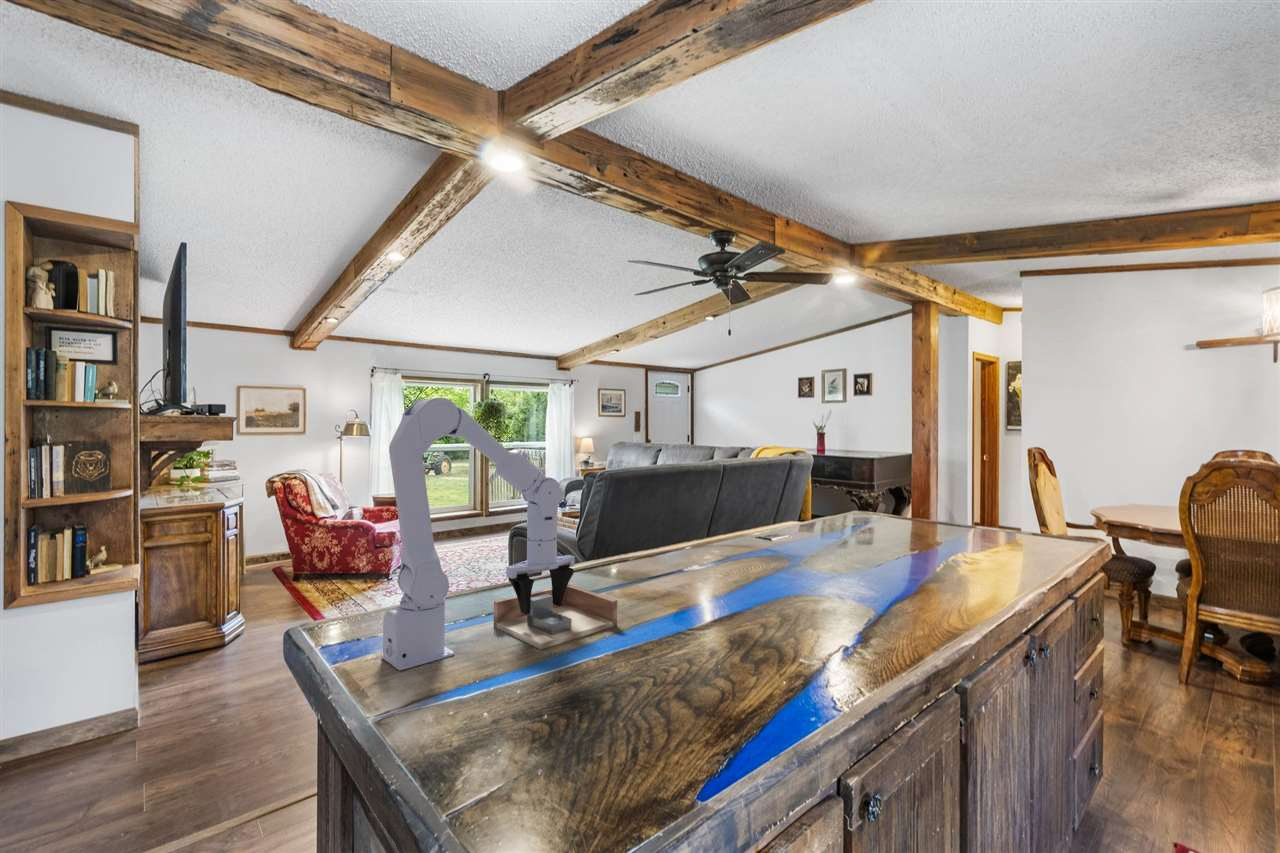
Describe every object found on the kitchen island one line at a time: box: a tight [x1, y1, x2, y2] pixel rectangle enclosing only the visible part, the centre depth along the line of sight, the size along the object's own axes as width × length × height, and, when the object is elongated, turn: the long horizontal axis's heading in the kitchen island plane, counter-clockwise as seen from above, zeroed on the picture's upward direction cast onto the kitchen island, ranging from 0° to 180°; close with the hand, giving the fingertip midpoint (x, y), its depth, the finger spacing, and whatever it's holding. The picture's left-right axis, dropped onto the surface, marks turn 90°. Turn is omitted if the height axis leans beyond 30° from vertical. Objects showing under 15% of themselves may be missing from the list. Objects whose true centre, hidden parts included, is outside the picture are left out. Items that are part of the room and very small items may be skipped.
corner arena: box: [493, 583, 618, 650], centre depth 114 cm, size 18×16×5 cm
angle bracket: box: [527, 594, 571, 635], centre depth 110 cm, size 8×4×5 cm, turn 44°
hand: (541, 608), depth 112 cm, fingers open, 7 cm apart
